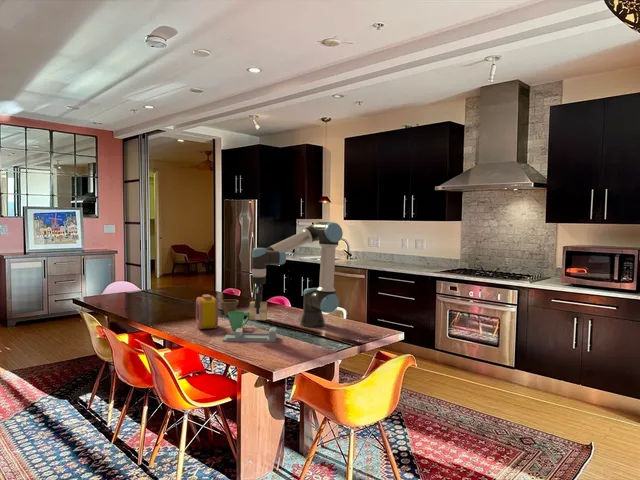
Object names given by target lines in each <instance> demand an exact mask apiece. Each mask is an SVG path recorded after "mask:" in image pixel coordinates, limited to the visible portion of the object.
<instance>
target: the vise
mask: <svg viewBox="0 0 640 480" xmlns="http://www.w3.org/2000/svg"><path fill="white" fill-rule="evenodd" d="M276 340H277V327H276V326H273V327H270V328H269V330H268V332H267V333H264V332H263V333H262V332H261V333H260V332H259V333H258V332H247V333H245V332H243V334H242V336H241V337H240V338H235V332H229V334H225V336H224V338H223V339H222V342H234V341H236V342H237V343H238V342H250V343H252V342H255V343H259V342H260V343H261V342H262V343H270V342H271V343H275V342H276Z"/></svg>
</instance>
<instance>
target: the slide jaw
mask: <svg viewBox="0 0 640 480" xmlns="http://www.w3.org/2000/svg"><path fill="white" fill-rule="evenodd" d="M243 331H244V330H243V327H241V328H237V330H234V333H235V338H240V337H241V336H242V334H243V333H244V332H243Z"/></svg>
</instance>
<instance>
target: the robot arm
mask: <svg viewBox="0 0 640 480" xmlns="http://www.w3.org/2000/svg"><path fill="white" fill-rule="evenodd" d="M343 234H344V232H343V229H342V227H341V225H340V224H339V223H337V222H333V221H317V222H316V223H313V224H311V225H309V226H307V227H305V228H302V231H299V232H298V233H296V234H293V235H291V236H289V237H287V238H285V239H283V240H281V241H278V242H276V243H275V244H272V245H270V246H269V247H266V248H265V247H253V248H252V252H251V253H252V254H251V270H250V272H252V273H251V275H252V276H251V284H255V286H254V300H255V301H254V302H255V307H254V308H255V320H254V321H261V320H260V302H263V288H264V287H263V285H265V284H266V282H267V281H266V280H267V277H266V276H267V266H270V265H271V266H272V265H273V266H274V265H277V266H278V265H284V264H285V263H287V262H286V261H287V254H286V253H289V252H291V251H293V250H295V249H297V248H299V247H301V246H303V245H305V244H307V243H308V244H311V243H314V242H317V241H318V244H319V246H320V247H321V249H320V265H319V267H320V269H319V283H318V284H319V286H318V287H312V288H311V287H310V288H309V287H308V288H305V289H304V290H303V313H302V316H301V318H300V326H303V327H306V328H319V327H320V328H321V327H324V326H325V318H324V315H323V313H327V314H331V313H334V312H335V311H336V310H337V309H338V307H339V303H340V300H339V297H338V295H336V292H337V291H336V289H335V287H334V284H335V283H334V282H335V269H336V268H335V265H336V264H335V263H336V248H337V247H338V246H339V243H340V241H341V239H342V238H343Z"/></svg>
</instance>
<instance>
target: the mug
mask: <svg viewBox="0 0 640 480" xmlns="http://www.w3.org/2000/svg"><path fill="white" fill-rule="evenodd" d="M246 315H247V316H246ZM245 316H246V318H245ZM227 317H228V323H229V325H230V328H231V330H232V331H236V330H237V328H243V327H244V326H245V325H246V324H247V323H248V322H249V321H250V320H249V311H242V310H236V311H231V312H228V316H227ZM244 318H245V320H244Z"/></svg>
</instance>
